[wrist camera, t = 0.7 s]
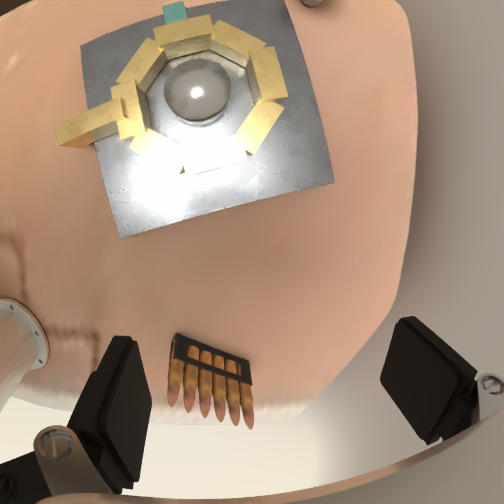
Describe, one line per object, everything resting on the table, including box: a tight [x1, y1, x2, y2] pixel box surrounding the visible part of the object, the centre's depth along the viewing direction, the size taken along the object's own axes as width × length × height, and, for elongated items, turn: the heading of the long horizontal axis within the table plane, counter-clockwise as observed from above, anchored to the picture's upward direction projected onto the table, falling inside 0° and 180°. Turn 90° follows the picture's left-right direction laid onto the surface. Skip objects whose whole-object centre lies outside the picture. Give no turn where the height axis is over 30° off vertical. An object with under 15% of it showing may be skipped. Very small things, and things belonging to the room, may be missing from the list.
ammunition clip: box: [167, 333, 254, 429], centre depth 31 cm, size 11×2×12 cm, turn 61°
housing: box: [80, 0, 335, 239], centre depth 25 cm, size 24×25×6 cm
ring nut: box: [55, 14, 288, 176], centre depth 23 cm, size 21×15×5 cm
